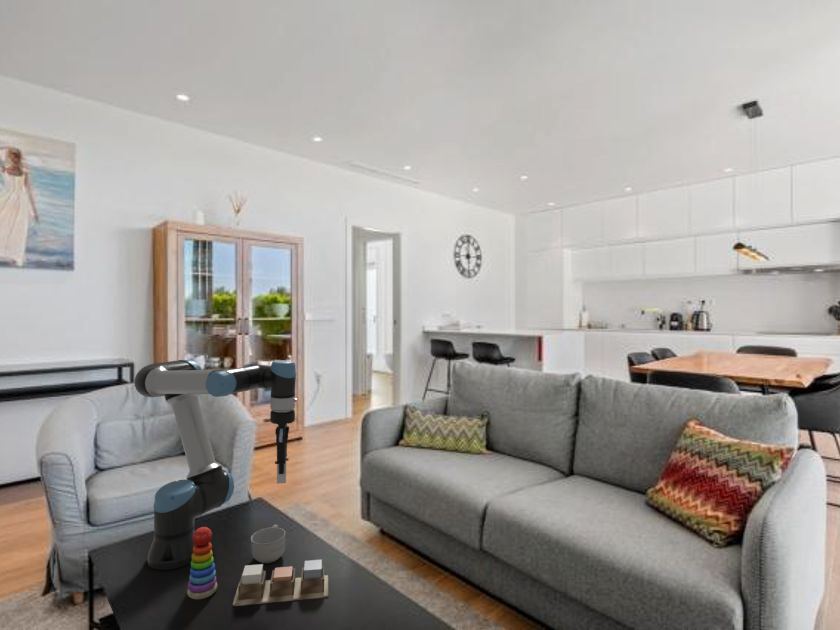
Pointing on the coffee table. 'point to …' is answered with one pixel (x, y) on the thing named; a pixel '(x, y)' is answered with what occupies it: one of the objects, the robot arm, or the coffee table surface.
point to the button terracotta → (283, 574)
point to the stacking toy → (202, 566)
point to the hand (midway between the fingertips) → (281, 482)
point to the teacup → (268, 544)
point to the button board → (281, 590)
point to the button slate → (313, 569)
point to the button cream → (252, 574)
